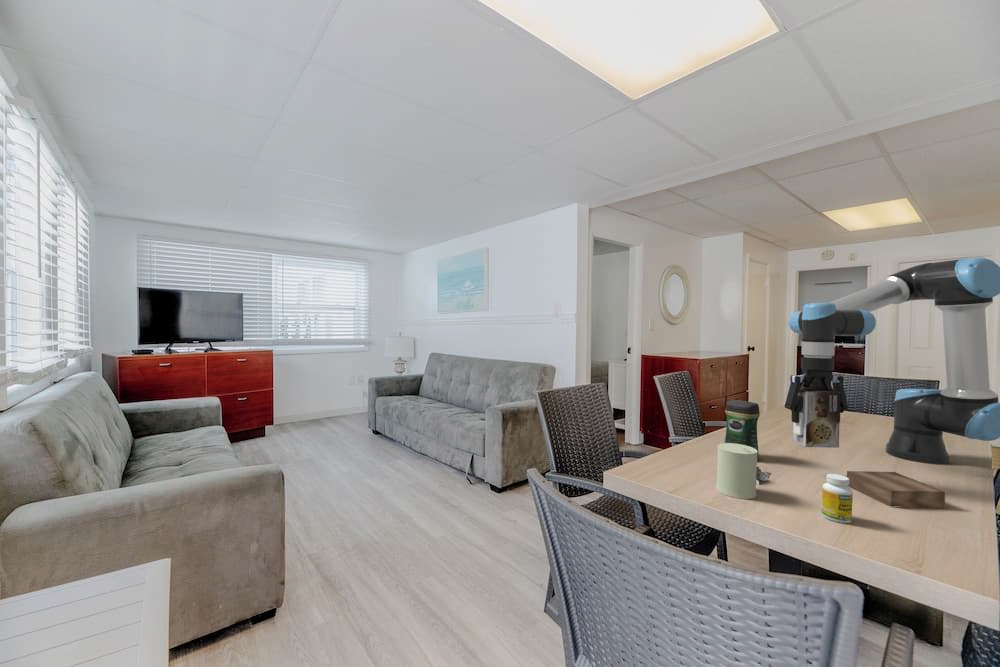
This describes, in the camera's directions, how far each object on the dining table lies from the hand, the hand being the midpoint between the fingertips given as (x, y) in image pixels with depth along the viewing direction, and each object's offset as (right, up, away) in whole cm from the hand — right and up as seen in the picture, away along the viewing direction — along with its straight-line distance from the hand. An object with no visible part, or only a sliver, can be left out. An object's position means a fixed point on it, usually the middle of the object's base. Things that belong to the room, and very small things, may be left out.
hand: (815, 433), depth 120 cm
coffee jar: (-11, -12, +17) cm, 24 cm away
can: (-30, -13, -11) cm, 34 cm away
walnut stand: (+10, -13, -13) cm, 21 cm away
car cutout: (-16, -13, -2) cm, 21 cm away
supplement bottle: (-15, -13, -26) cm, 32 cm away
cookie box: (0, -3, 0) cm, 3 cm away
